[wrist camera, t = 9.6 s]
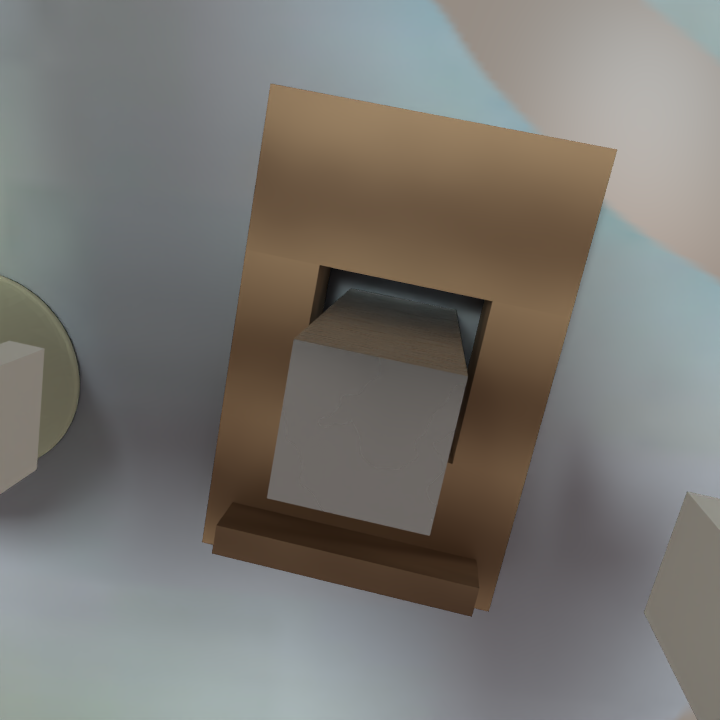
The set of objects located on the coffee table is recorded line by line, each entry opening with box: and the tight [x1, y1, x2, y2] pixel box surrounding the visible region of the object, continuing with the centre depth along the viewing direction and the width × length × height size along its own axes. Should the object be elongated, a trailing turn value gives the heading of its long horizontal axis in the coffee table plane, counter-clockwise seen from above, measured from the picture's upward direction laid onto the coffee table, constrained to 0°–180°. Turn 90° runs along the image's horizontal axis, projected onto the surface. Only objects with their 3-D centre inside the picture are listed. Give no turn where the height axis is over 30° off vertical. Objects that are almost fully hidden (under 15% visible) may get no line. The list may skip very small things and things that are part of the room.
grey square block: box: [267, 288, 468, 536], centre depth 22 cm, size 4×4×11 cm
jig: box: [202, 84, 617, 617], centre depth 25 cm, size 18×12×5 cm, turn 169°
